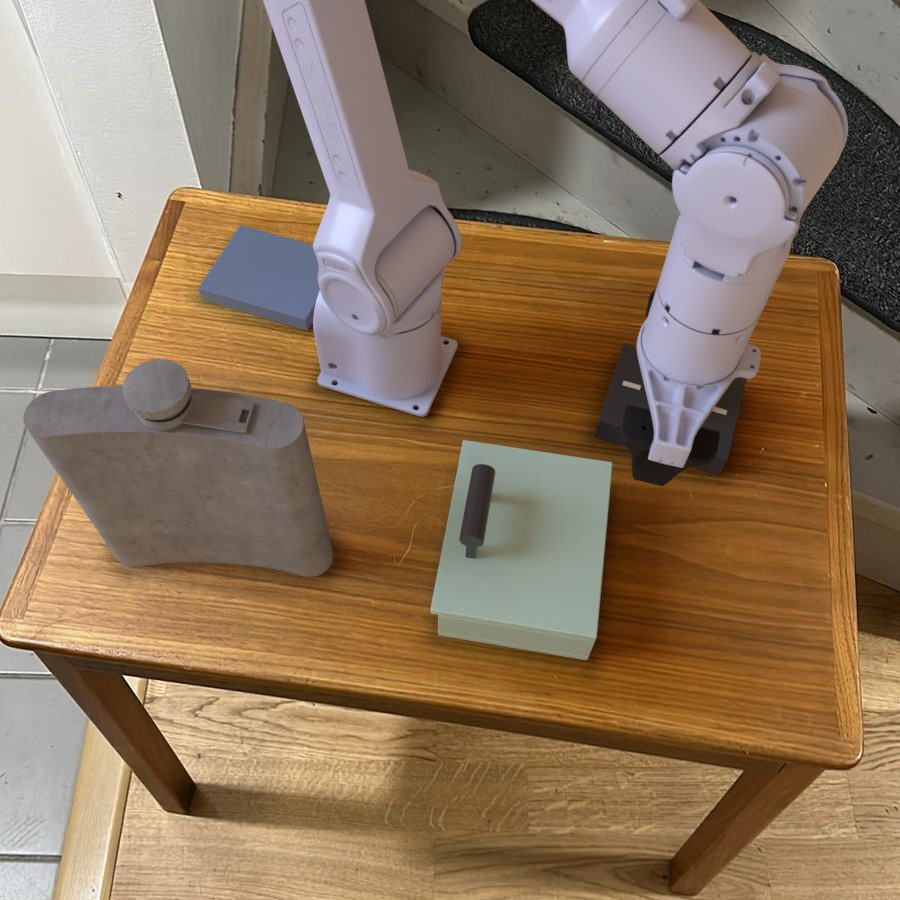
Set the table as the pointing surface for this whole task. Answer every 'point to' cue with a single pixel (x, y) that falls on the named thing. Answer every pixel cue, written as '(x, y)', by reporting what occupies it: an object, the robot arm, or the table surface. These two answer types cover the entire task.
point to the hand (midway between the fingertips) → (658, 430)
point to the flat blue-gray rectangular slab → (265, 277)
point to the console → (632, 392)
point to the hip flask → (187, 471)
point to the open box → (514, 637)
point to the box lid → (525, 540)
